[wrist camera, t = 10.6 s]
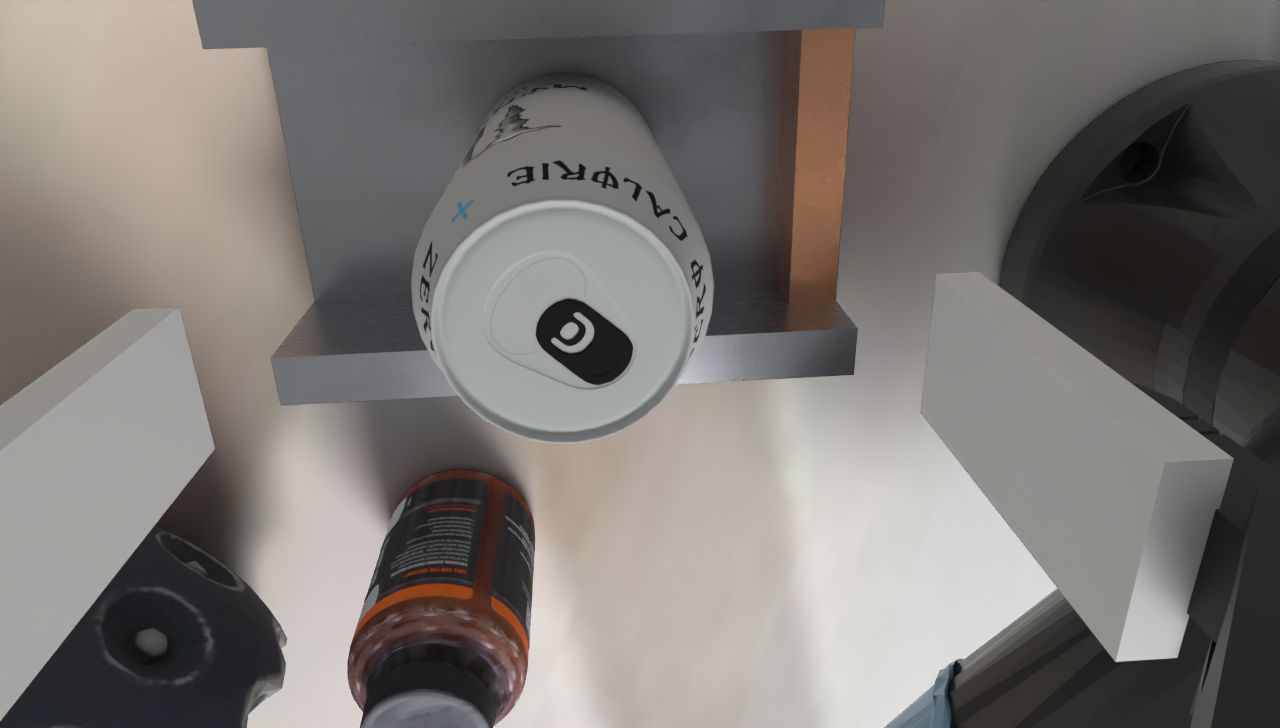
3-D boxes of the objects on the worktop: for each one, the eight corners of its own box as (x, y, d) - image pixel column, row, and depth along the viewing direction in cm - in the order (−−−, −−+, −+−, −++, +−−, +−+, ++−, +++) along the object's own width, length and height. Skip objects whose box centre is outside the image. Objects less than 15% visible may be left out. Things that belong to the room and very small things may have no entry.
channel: (825, -36, 29) (887, -38, 23) (806, 307, 34) (853, 374, 28) (266, -21, 28) (188, -18, 22) (331, 330, 33) (280, 405, 27)
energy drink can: (552, 28, 28) (537, 85, 14) (691, 153, 30) (795, 308, 16) (440, 173, 29) (327, 350, 16) (578, 282, 31) (585, 523, 18)
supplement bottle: (362, 508, 36) (277, 725, 26) (480, 437, 35) (442, 632, 25) (451, 603, 38) (406, 837, 28) (564, 539, 37) (561, 756, 27)
